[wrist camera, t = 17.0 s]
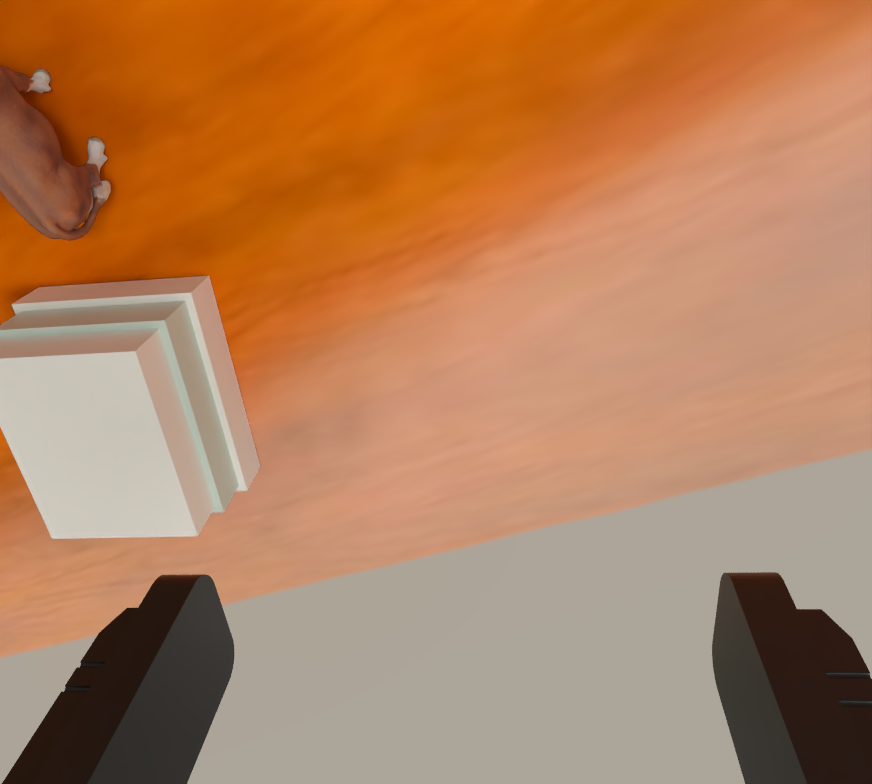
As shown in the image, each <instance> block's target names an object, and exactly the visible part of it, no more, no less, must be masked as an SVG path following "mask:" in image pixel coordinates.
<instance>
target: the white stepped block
mask: <svg viewBox="0 0 872 784" xmlns="http://www.w3.org/2000/svg"><path fill="white" fill-rule="evenodd" d="M11 305H12V307H13V309H14V312H15V314H16V315H15V316H13V317H12V318H10V319H9V320H7V321H6V322H4V323H3V324H1V325H0V427H1V430H2V432H3V434H4V436H5V438H6V440H7V442H8V445H9V447H10V449H11V451H12V453H13V455H14V458H15V460H16V462H17V464H18V466H19V468H20V470H21V473H22V475H23V477H24V479H25V481H26V483H27V485H28V488H29V490H30V492H31V494H32V496H33V498H34V501H35V503H36V505H37V507H38V509H39V511H40V513H41V516H42V518H43V520H44V522H45V524H46V526H47V528H48V531H49V533H50V535H51V537H52V539H69V538H126V537H182V536H198V535H199V533H200V532H201V530H202V528H203V526H204V525H205V523H206V521H207V519H208V518H209V516H210V514H211V513H212V512H224V511H225V509H226V508H227V506H228V504H229V502H230V500H231V499H232V497H233V495H234V493H235V491H247V490H248V489H249V487H250V485H251V483H252V481H253V479H254V477H255V475H256V474H257V472H258V470H259V468H260V463H259V460H258V456H257V452H256V449H255V445H254V441H253V437H252V434H251V430H250V426H249V422H248V419H247V415H246V411H245V407H244V404H243V400H242V396H241V392H240V389H239V385H238V381H237V377H236V374H235V370H234V366H233V363H232V359H231V355H230V351H229V348H228V344H227V340H226V336H225V333H224V329H223V325H222V321H221V318H220V314H219V310H218V306H217V303H216V299H215V295H214V291H213V288H212V284H211V280H210V276H195V277H181V278H166V279H151V280H137V281H122V282H108V283H93V284H78V285H64V286H49V287H38V288H37V289H35V290H34V291H32V292H30V293H29V294H27V295H25V296H24V297H22V298H21V299H19V300H17V301H16V302H14V303H13V304H11Z"/></svg>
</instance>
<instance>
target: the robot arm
mask: <svg viewBox="0 0 872 784" xmlns="http://www.w3.org/2000/svg"><path fill="white" fill-rule="evenodd" d="M712 657H713V668H714V674H715V680H716V685H717V689H718V692H719V696H720V699H721V702H722V706H723V709H724V713H725V716H726V720H727V723H728V726H729V730H730V733H731V736H732V740H733V743H734V747H735V750H736V754H737V757H738V760H739V764H740V767H741V771H742V774H743V777H744V780H745V784H872V679H871V678H870V672H869V670H868V668H867V666H866V664H865V663H864V661H863V658H862V657H861V655H860V653H859V651H858V649H857V647H856V645H855V643H854V641H853V639H852V638H851V637H850V636H849V635H848V634H847V633H846V632H845V631H844V630H842V628H841V627H839V626H838V625H837V624H836V623H835V622H834V621H833V620H832V619H831V618H830V617H829V616H828V615H827V614H826V613H825V612H823V611H822V610H820V609H817V610H815V609H814V610H813V609H812V610H809V609H807V610H805V609H801V610H800V609H796V607H795V604H794V602H793V600H792V598H791V596H790V593H789V592H788V589H787V587H786V585H785V583H784V581H783V579H782V577H781V576H780V575H779V574H778V573H724V574H723V575H722V577H721V581H720V588H719V596H718V605H717V612H716V619H715V627H714V635H713V644H712ZM233 663H234V643H233V638H232V636H231V633H230V629H229V626H228V623H227V620H226V617H225V614H224V611H223V608H222V605H221V602H220V599H219V596H218V593H217V590H216V587H215V584H214V582H213V580H212V578H211V577H210V576H208V575H162V576H160V577H158V578H157V579H156V580H155V582H154V583H153V584H152V586H151V588H150V589H149V591H148V593H147V594H146V596H145V598H144V599H143V601H142V603H141V604H140V606H139V608H127V609H125V610H124V611H123V612H122V613H121V614H120V615H119V616H118V617H116V618H115V619H114V620H113V621H112V622H111V623H110V624H109V625H107V626H106V627H105V628H104V629H103V630H102V631H101V632H100V633H99V634H98V636H97V637H96V639H95V640H94V642H93V643H92V645H91V647H90V648H89V650H88V651H87V653H86V654H85V656H84V657H83V659H82V660H81V666H80V668H76V670H75V671H74V673H73V674H72V676H71V677H70V679H69V681H68V682H67V684H66V685H65V686H66V688H65V691H64V692H61V693H60V695H59V696H58V698H57V699H56V701H55V702H54V704H53V705H52V707H51V708H50V710H49V712H48V713H47V715H46V716H45V718H44V719H43V721H42V723H41V724H40V726H39V727H38V729H37V730H36V732H35V733H34V735H33V736H32V738H31V740H30V741H29V743H28V744H27V746H26V747H25V749H24V751H23V752H22V754H21V755H20V757H19V758H18V760H17V761H16V763H15V764H14V766H13V767H12V769H11V771H10V772H9V774H8V775H7V777H6V779H5V780H4V781H3V783H2V784H187V782H188V779H189V777H190V775H191V772H192V770H193V767H194V765H195V762H196V760H197V758H198V755H199V753H200V750H201V748H202V745H203V743H204V741H205V738H206V736H207V733H208V731H209V728H210V726H211V724H212V721H213V719H214V716H215V713H216V711H217V709H218V707H219V704H220V702H221V699H222V697H223V694H224V692H225V690H226V687H227V685H228V682H229V679H230V677H231V673H232V669H233Z"/></svg>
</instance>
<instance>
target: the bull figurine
mask: <svg viewBox="0 0 872 784" xmlns="http://www.w3.org/2000/svg"><path fill="white" fill-rule="evenodd" d="M50 81H51V78H50V75H49V73H48V72H47V71H46V70H44V69H37V70H36V71H35V72H34V75H33V76H32V78H28V77H27V76H25V75H24V74H22V73H15V72H13V71H12V70H10V69H9V68H7V67H4V66H1V65H0V192H1V193H2V194H3V195H4V196H5V198H6V199H7V200H8V202H9V203H10V204H11V205H12V206H13V207H14V208H15V209H16V211H17V212H18V213H19V214H20V215H21V216H22V217H23V218H24V219H25V220H26V221H27V222H28V223H29V224H30V225H31V226H33V227H34V228H35V229H36V230H37V231H39V232H40V233H41V234H43V235H45V236H46V237H48V238H51V239H60V238H61V239H64V240H75V239H78V238H81V237H83V236H84V235H85V234H86V233H87V232H88V231H89V230H90V229H91V227H92V225H93V223H94V221H95V218H96V215H97V212H98V210H99V209H100V207H101V206H102V205H103V204H104V203H105V202H106V200H107V199H108V197H109V194H110V193H111V185H110V183H109V181H107V180H104V181H101V180H100V169H101V167H102V165H103V164H104V162H106V161H107V159H108V157H107V156H105V155H104V154H103V153H104V149H105V145H104V143H103V141H102V140H101V139H99V138H97V137H92V138H89V139H88V147H87V150H88V156H89V158H88V161H87V163H86V164H85V165H83V166H72V165H71V164H70V163H68V162H67V161H65V160H64V158H63V156H62V150H61V146H60V142H59V139H58V137H57V135H56V132H55V130H54V129H53V127H52V125H51V124H50V122H49V121H48V119H47V118H46V117H45V116H44V115H43V114H42V113H41V112H40V111H38V110H37V109H36V108H35V107H33V106H32V105H30V104H29V103H27V102H26V101H25V99H24V98H23V97H22V95H21V94H20V93H19V92H28V91H30V90H34V91H36V92H37V93H43V92H48V91H50V90H51V87H50V86H49V82H50ZM89 212H90V214H89V217H88V219H87V220H86V216H87V214H88V213H89ZM85 221H86V222H85ZM81 222H85V224H84V225H83V226H82V227H81V228H77V229H74V228H76V227H77V226H78V225H79V224H80V223H81Z"/></svg>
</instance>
